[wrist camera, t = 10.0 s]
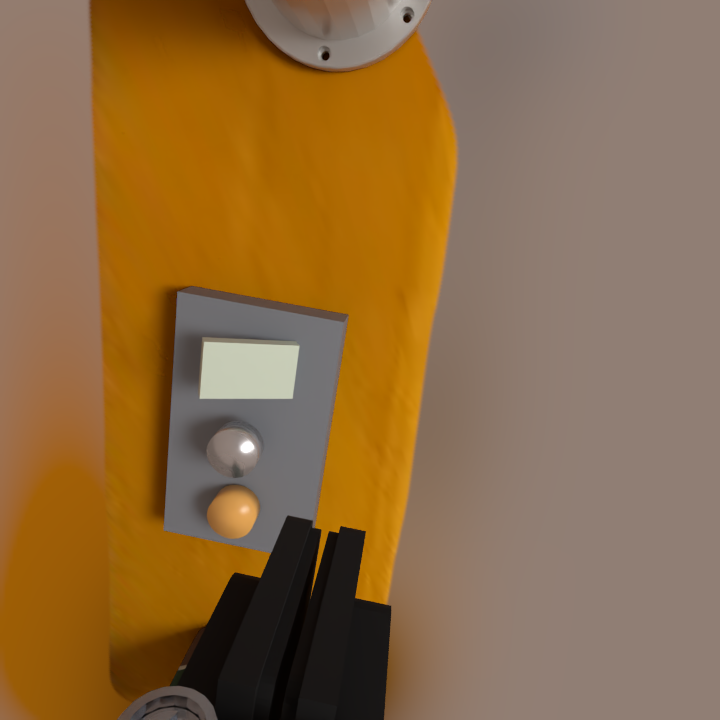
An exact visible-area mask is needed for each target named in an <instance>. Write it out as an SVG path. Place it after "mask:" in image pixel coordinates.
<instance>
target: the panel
mask: <svg viewBox="0 0 720 720" xmlns="http://www.w3.org/2000/svg"><path fill="white" fill-rule="evenodd" d="M347 321H348V315H347V314H341V313H336V312H330V311H325V310H319V309H314V308H309V307H303V306H298V305H292V304H287V303H281V302H276V301H270V300H265V299H260V298H254V297H249V296H243V295H238V294H232V293H227V292H221V291H216V290H211V289H205V288H200V287H194V286H191V287H188V288H186V289H183V290H180V291H178V292H177V309H176V326H175V344H174V361H173V378H172V396H171V413H170V430H169V448H168V465H167V482H166V499H165V517H164V530H165V531H169V532H174V533H179V534H184V535H188V536H193V537H198V538H203V539H207V540H212V541H217V542H221V543H226V544H231V545H236V546H240V547H245V548H250V549H255V550H259V551H264V552H269V553H271V552H272V550H273V548H274V545H275V543H276V541H277V538H278V536H279V533H280V531H281V529H282V526H283V524H284V522H285V519H286V517H287V516H288V515H289V516H294V517H299V518H303V519H308V520H313V527H312V528H315V522H316V516H317V510H318V504H319V497H320V491H321V485H322V478H323V472H324V466H325V460H326V453H327V447H328V441H329V434H330V428H331V422H332V416H333V409H334V403H335V397H336V390H337V384H338V378H339V372H340V365H341V359H342V353H343V346H344V340H345V334H346V328H347ZM202 337H211V338H233V339H256V340H278V341H296V342H297V343H298V345H299V353H298V361H297V369H296V376H295V384H294V391H293V399H200V398H199V394H198V388H199V374H200V361H201V347H202ZM231 421H243V422H246V423H249V424H251V425H252V426H254V427H255V428H256V429H257V430H258V431H259V433H260V434H261V436H262V438H263V442H264V450H263V453H262V456H261V457H260V459H259V460H258V462H257V464H256V465H255V467H254V468H253V470H252V471H251V472H250V473H249V474H247V475H245V476H243V477H239V478H230V477H226V476H223V475H221V474H220V473H218V472H217V471H216V470H215V469H214V468H213V467H212V466H211V464H210V463H209V461H208V458H207V446H208V443H209V441H210V440H211V438H212V437H213V436H214V435H215V434H216V433H217V432H218V430H219V429H220V428H221V427H222V426H223V425H224V424H226V423H228V422H231ZM229 485H241V486H244V487H246V488H248V489H250V490H251V491H252V492H253V493H254V494H255V495H256V496H257V498H258V500H259V503H260V512H259V515H258V517H257V519H256V521H255V523H254V525H253V527H252V529H251V530H250V532H249V533H248V534H247V535H245V536H243V537H241V538H237V539H230V538H225V537H223V536H221V535H219V534H217V533H216V532H215V531H214V530H213V529H212V528H211V526H210V525H209V523H208V520H207V510H208V508H209V506H210V504H211V503H212V501H213V500H214V498H215V497H216V496H217V494H218V493H219V491H220V490H221V489H223V488H224V487H226V486H229Z"/></svg>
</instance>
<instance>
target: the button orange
mask: <svg viewBox="0 0 720 720" xmlns="http://www.w3.org/2000/svg"><path fill="white" fill-rule="evenodd" d="M259 512H260V503H259V500H258V498H257V496H256V495H255V494H254V493H253V492H252V491H251V490H250V489H248V488H246V487H244V486H241V485H229V486H226V487H224V488H223V489H221V490H220V491H219V493H218V494H217V496H216V497H215V498H214V500H213V501H212V503H211V504H210V506H209V508H208V510H207V520H208V523H209V525H210V526H211V528H212V529H213V530H214V531H215V532H216V533H217V534H219V535H221V536H223V537H225V538H230V539H237V538H241V537H243V536H245V535H247V534H248V533H249V532H250V530H251V529H252V527H253V525H254V523H255V521H256V519H257V517H258V515H259Z"/></svg>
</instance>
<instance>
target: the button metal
mask: <svg viewBox="0 0 720 720" xmlns="http://www.w3.org/2000/svg"><path fill="white" fill-rule="evenodd" d="M263 450H264V442H263V438H262V436H261V434H260V433H259V431H258V430H257V429H256V428H255V427H254V426H252V425H251V424H249V423H246V422H243V421H231V422H228V423H226V424H224V425H223V426H222V427H221V428H220V429H219V430H218V432H217V433H216V434H215V435H214V436H213V437H212V438H211V440H210V441H209V443H208V446H207V458H208V461H209V463H210V464H211V466H212V467H213V468H214V469H215V470H216V471H217V472H218V473H220V474H221V475H223V476H226V477H230V478H239V477H243V476H245V475H247V474H249V473H250V472H251V471H252V470H253V468H254V467H255V465H256V464H257V462H258V460H259V459H260V457H261V456H262V453H263Z"/></svg>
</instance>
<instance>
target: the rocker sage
mask: <svg viewBox="0 0 720 720" xmlns="http://www.w3.org/2000/svg"><path fill="white" fill-rule="evenodd" d="M298 353H299V345H298V343H297V342H296V341H278V340H256V339H233V338H211V337H202V347H201V361H200V374H199V388H198V394H199V398H200V399H293V391H294V384H295V376H296V369H297V361H298Z"/></svg>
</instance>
